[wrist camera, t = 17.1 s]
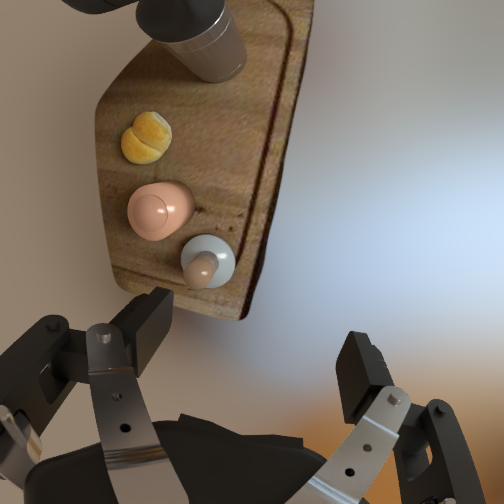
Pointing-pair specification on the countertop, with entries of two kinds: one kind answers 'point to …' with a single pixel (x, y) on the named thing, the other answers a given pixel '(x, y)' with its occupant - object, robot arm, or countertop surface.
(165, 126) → the bread roll
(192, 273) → the lid
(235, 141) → the countertop surface
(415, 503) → the robot arm
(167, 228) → the canister
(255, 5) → the countertop surface
